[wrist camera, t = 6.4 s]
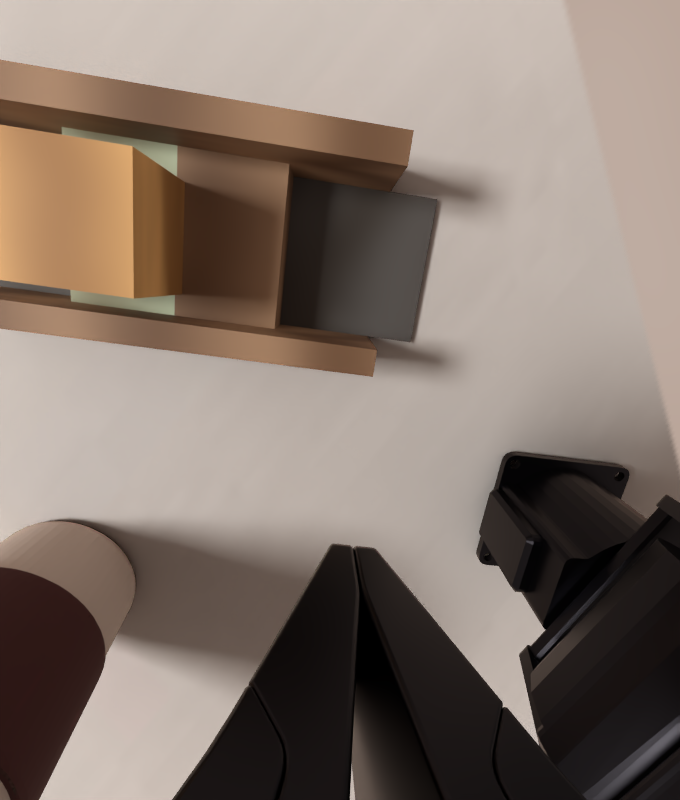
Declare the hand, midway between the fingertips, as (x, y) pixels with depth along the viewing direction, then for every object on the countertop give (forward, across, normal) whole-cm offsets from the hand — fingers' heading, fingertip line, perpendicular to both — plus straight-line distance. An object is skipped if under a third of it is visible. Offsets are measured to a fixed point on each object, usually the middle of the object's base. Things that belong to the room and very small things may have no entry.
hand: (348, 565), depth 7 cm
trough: (+12, +7, -6) cm, 15 cm away
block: (+10, +9, -6) cm, 14 cm away
